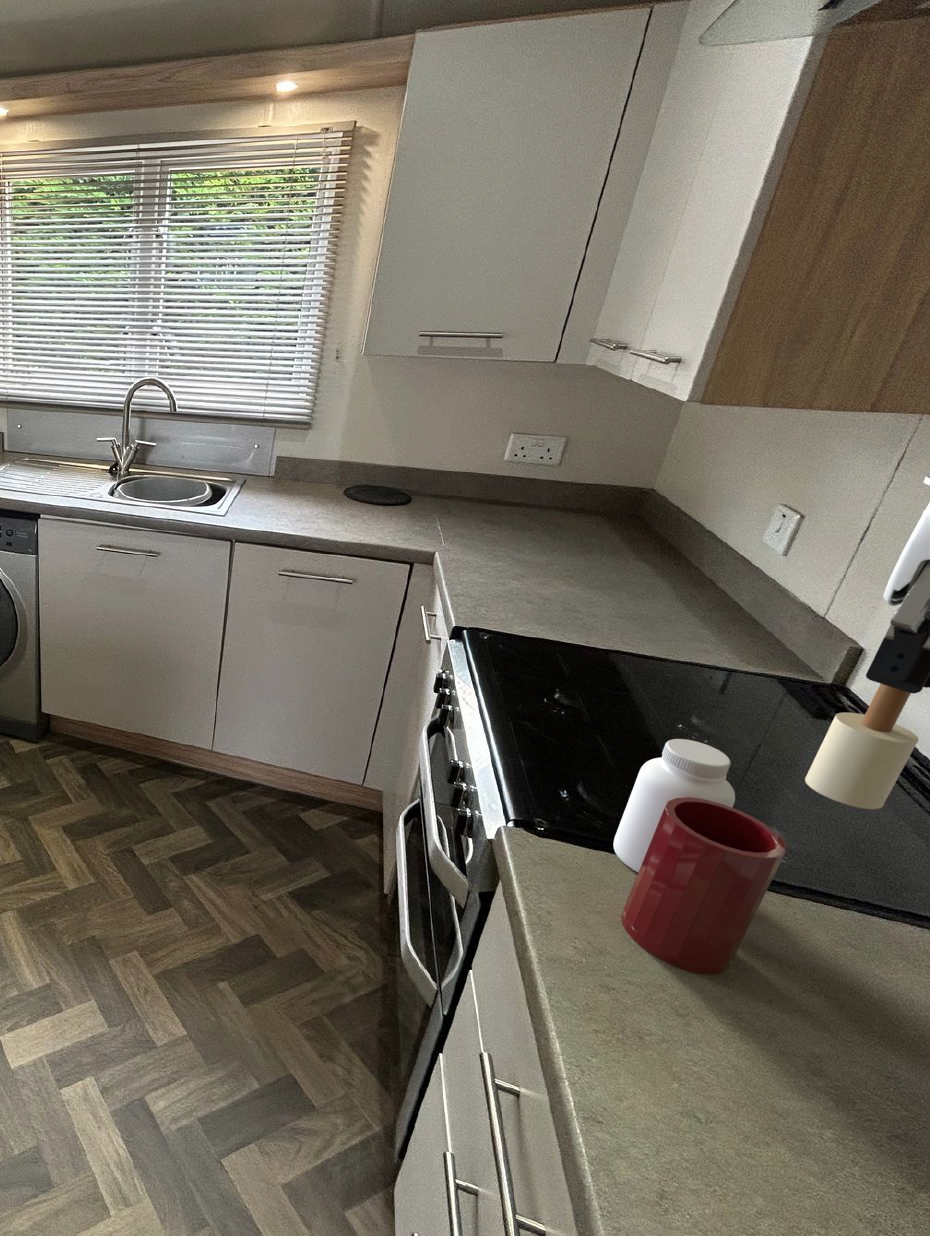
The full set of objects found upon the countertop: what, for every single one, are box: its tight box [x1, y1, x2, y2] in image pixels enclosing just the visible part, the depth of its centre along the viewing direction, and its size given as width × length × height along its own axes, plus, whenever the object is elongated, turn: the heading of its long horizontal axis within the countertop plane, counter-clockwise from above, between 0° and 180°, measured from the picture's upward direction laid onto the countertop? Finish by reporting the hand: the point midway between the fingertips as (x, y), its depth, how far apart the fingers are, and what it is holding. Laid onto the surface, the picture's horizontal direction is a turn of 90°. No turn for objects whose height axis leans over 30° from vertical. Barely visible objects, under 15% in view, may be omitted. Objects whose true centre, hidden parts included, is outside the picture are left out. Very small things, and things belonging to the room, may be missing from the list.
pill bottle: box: [612, 738, 736, 873], centre depth 78 cm, size 8×8×15 cm
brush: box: [804, 683, 919, 810], centre depth 62 cm, size 5×5×17 cm
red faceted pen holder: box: [620, 797, 787, 975], centre depth 69 cm, size 8×8×14 cm
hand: (899, 681), depth 61 cm, fingers closed on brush
